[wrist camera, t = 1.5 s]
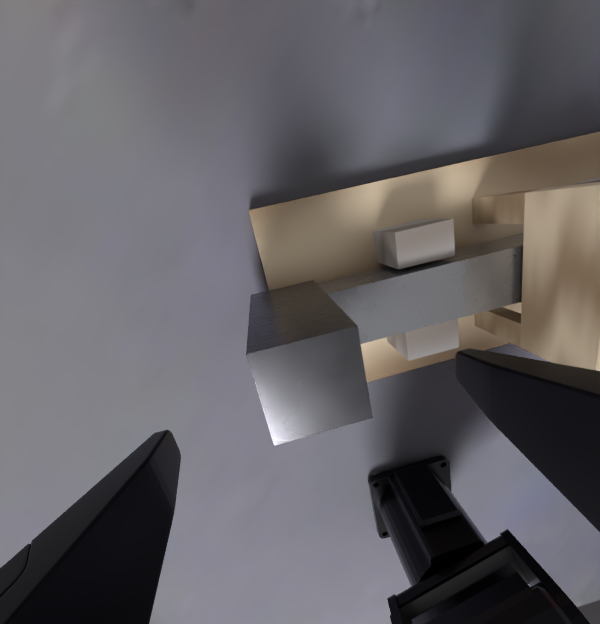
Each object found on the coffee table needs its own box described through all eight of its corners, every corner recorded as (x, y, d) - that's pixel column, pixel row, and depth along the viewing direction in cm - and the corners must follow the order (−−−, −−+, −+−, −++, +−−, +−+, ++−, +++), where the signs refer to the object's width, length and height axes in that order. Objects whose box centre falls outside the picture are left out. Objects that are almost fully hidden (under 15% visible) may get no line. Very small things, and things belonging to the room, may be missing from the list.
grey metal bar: (613, 262, 19) (835, 287, 11) (266, 352, 17) (274, 445, 10) (621, 204, 17) (872, 193, 10) (250, 295, 16) (246, 354, 9)
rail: (588, 315, 21) (771, 366, 14) (296, 394, 20) (320, 501, 12) (609, 130, 18) (876, 60, 10) (248, 210, 16) (241, 201, 8)
